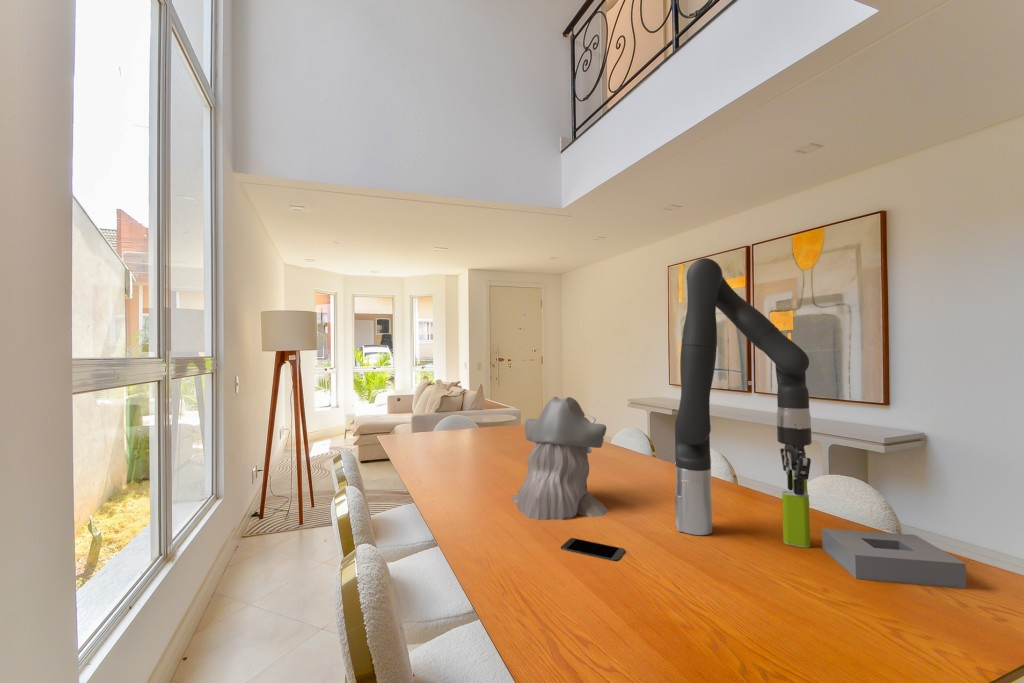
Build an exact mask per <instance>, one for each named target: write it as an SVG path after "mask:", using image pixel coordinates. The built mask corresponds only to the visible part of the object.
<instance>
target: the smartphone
mask: <svg viewBox="0 0 1024 683" xmlns="http://www.w3.org/2000/svg"><path fill="white" fill-rule="evenodd" d="M560 549H561V550H563V551H566V552H571V553H575V554H581V555H585V556H590V557H593V558H597V559H602V560H605V561H607V560H608V561H611V562H619V561H620V560H621V559H622V558H623V556H624V555H625V554H626V549H625V548H623V547H618V546H614V545H609V544H605V543H600V542H594V541H589V540H585V539H580V538H574V537H571V538H569V539H568V540H567V541H565V542H564V544H562V545H561V546H560Z"/></svg>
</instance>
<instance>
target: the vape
mask: <svg viewBox="0 0 1024 683" xmlns="http://www.w3.org/2000/svg"><path fill="white" fill-rule="evenodd" d="M796 467H797V466H796ZM800 474H801V472H800ZM792 478H793V473H792ZM781 496H782V497H781V500H782V507H781V508H782V539H783V543H784V544H785V545H788V546H794V547H799V548H800V547H801V548H804V549H805V548H807V549H808V548H811V530H810V529H811V528H810V525H811V524H810V506H811V504H810V496H809V493H808V479H805V480H804V495H796V494H794V492H793V491H792V490H783V491H781Z"/></svg>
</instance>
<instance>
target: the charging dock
mask: <svg viewBox="0 0 1024 683" xmlns="http://www.w3.org/2000/svg"><path fill="white" fill-rule="evenodd" d="M821 547H822V550H823V551H824V552H826V553H827V554H828V556H830V557H831V558H832V559H833V560H834V561H836V562H837V563H838V564H839V565H840V566H841V567H842V568H844V569H845V571H847V572H848V573H849V574H850V575H852V576H851V577H853V578H855V579H856V580H869V581H879V582H888V583H889V582H890V583H901V584H911V585H912V584H914V585H923V586H924V585H925V586H936V587H944V588H945V587H946V588H955V589H958V588H959V589H967V570H966V563H965V562H963V561H962V560H960V559H958V558H957V557H954V556H953V555H951V554H949V553H948V552H946V551H944V550H943V549H940V548H939V547H937V546H935V545H934V544H931V543H930V542H928V541H927V540H925V539H923V538H921V537H919V536H918V535H916V534H909V533H893V532H879V531H868V530H867V531H864V530H854V529H853V530H852V529H851V530H850V529H838V528H836V529H835V528H821Z"/></svg>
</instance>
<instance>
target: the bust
mask: <svg viewBox="0 0 1024 683" xmlns="http://www.w3.org/2000/svg"><path fill="white" fill-rule="evenodd" d="M542 409H543V410H542V412H541V413H540V415H538V416H539V417H538V418H526V419H525V421H524V432H525V433H524V434H525V438H526V441H527V442H531V443H534V446H533V448H532V450H531V452H529V455H528V457H527V460H526V462H527V472H526V476H525V478H524V481H523V483H522V484H521V486H520V487H519V489H518V492H517V494H515V495H513V496H512V497H510V500H511V502H513V503H516V506H517V509H518V512H520V513H521V514H524V516H525V517H526V518H529V519H533V520H536V521H548V520H553V521H554V520H560V521H561V520H562V521H564V520H566V519H567V520H568V519H569V520H570V519H574V518H575V517H576V515H581V516H587V517H591V518H595V517H604V516H605V515H606V514H607V513H609V512H610V511H609V510H608V508H607V507H606V506H605V505H604V504H603V503H602V502H601V501H600V500H599V499H597V498H596V497H595V496H593V495H592V494H590V492H589V491H588V477H589V475H590V463H589V456H588V454H591V453H592V452H593V450H592V448H594V449H595V448H597V449H600V448H602V447H603V443H604V440H605V438H604V437H605V436H606V432H607V425H605V424H603V423H596V422H597V419H596V418H595V417H594V416H593V415H590V414H586V413H585V411H586V410H585V409H582V407H581V405H580V404H579V402H578V401H577V399H575V398H573V397H572V396H571V397H570V396H568V397H564V398H562V399H561V398H559V397H558V396H553V397H552V398H550V400H549V401H547V403H546V404H545V406H544V408H542ZM585 416H589V417H591V418H592V421H590V420H589V419H588V418H587V417H585Z"/></svg>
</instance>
